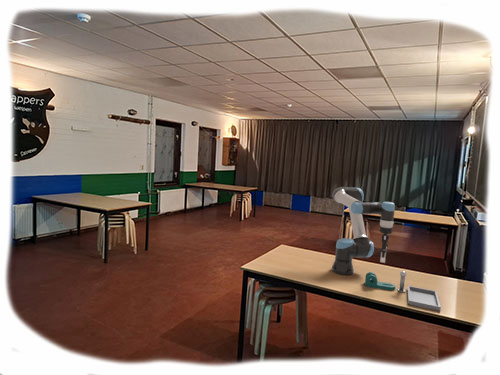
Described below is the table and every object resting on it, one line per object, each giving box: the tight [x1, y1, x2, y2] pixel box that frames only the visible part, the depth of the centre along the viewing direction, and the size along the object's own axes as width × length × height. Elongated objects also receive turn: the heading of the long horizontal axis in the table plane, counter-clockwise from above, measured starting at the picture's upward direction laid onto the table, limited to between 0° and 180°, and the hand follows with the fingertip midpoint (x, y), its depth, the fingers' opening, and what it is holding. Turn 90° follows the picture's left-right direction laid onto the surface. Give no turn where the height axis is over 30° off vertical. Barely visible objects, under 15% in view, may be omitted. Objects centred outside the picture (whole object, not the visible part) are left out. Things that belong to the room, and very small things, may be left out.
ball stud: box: [397, 270, 407, 293], centre depth 205 cm, size 4×4×13 cm
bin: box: [406, 285, 442, 312], centre depth 195 cm, size 16×24×2 cm, turn 156°
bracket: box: [364, 271, 396, 291], centre depth 211 cm, size 18×7×8 cm, turn 74°
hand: (383, 259), depth 209 cm, fingers open, 13 cm apart
